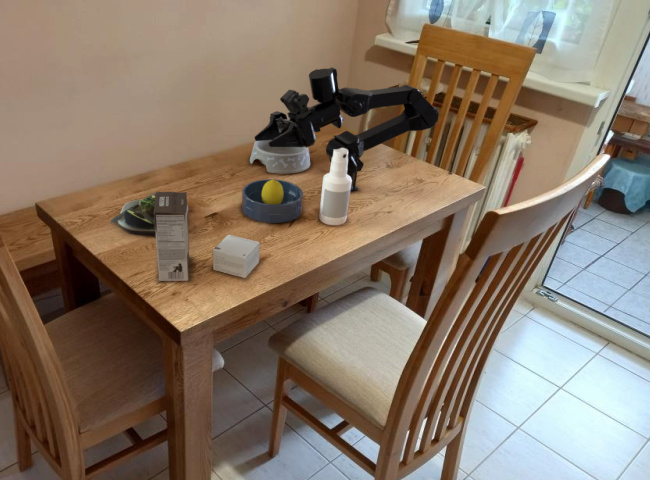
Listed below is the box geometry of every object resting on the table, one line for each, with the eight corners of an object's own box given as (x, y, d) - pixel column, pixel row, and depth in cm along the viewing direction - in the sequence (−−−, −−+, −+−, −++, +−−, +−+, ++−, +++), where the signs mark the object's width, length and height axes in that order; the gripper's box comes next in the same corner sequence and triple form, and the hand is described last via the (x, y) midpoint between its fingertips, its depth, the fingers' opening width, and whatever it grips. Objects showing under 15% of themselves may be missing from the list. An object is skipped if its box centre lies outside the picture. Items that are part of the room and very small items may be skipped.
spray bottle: (328, 228, 141) (337, 157, 130) (313, 216, 145) (320, 147, 135) (351, 222, 143) (361, 153, 133) (336, 211, 148) (344, 143, 138)
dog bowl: (279, 146, 183) (280, 129, 180) (322, 164, 173) (323, 147, 169) (238, 159, 174) (238, 142, 171) (281, 179, 163) (282, 161, 160)
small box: (260, 261, 127) (261, 241, 124) (245, 279, 121) (245, 258, 118) (228, 253, 129) (228, 233, 126) (212, 270, 124) (211, 249, 121)
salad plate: (124, 198, 150) (122, 181, 147) (193, 200, 150) (192, 184, 147) (107, 235, 134) (105, 217, 132) (184, 237, 134) (183, 220, 132)
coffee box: (160, 258, 127) (155, 190, 117) (189, 258, 127) (187, 190, 118) (158, 281, 119) (152, 211, 110) (189, 281, 120) (186, 211, 110)
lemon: (280, 215, 145) (282, 185, 140) (259, 212, 146) (260, 182, 141) (284, 205, 149) (286, 176, 144) (263, 202, 150) (264, 173, 145)
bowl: (286, 193, 156) (287, 176, 153) (311, 218, 144) (313, 200, 141) (233, 201, 151) (233, 183, 148) (255, 228, 139) (256, 209, 136)
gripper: (292, 82, 148) (238, 105, 145) (326, 87, 132) (266, 114, 129) (303, 124, 153) (252, 147, 151) (337, 134, 138) (281, 160, 135)
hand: (262, 141), depth 141 cm, fingers open, 9 cm apart
